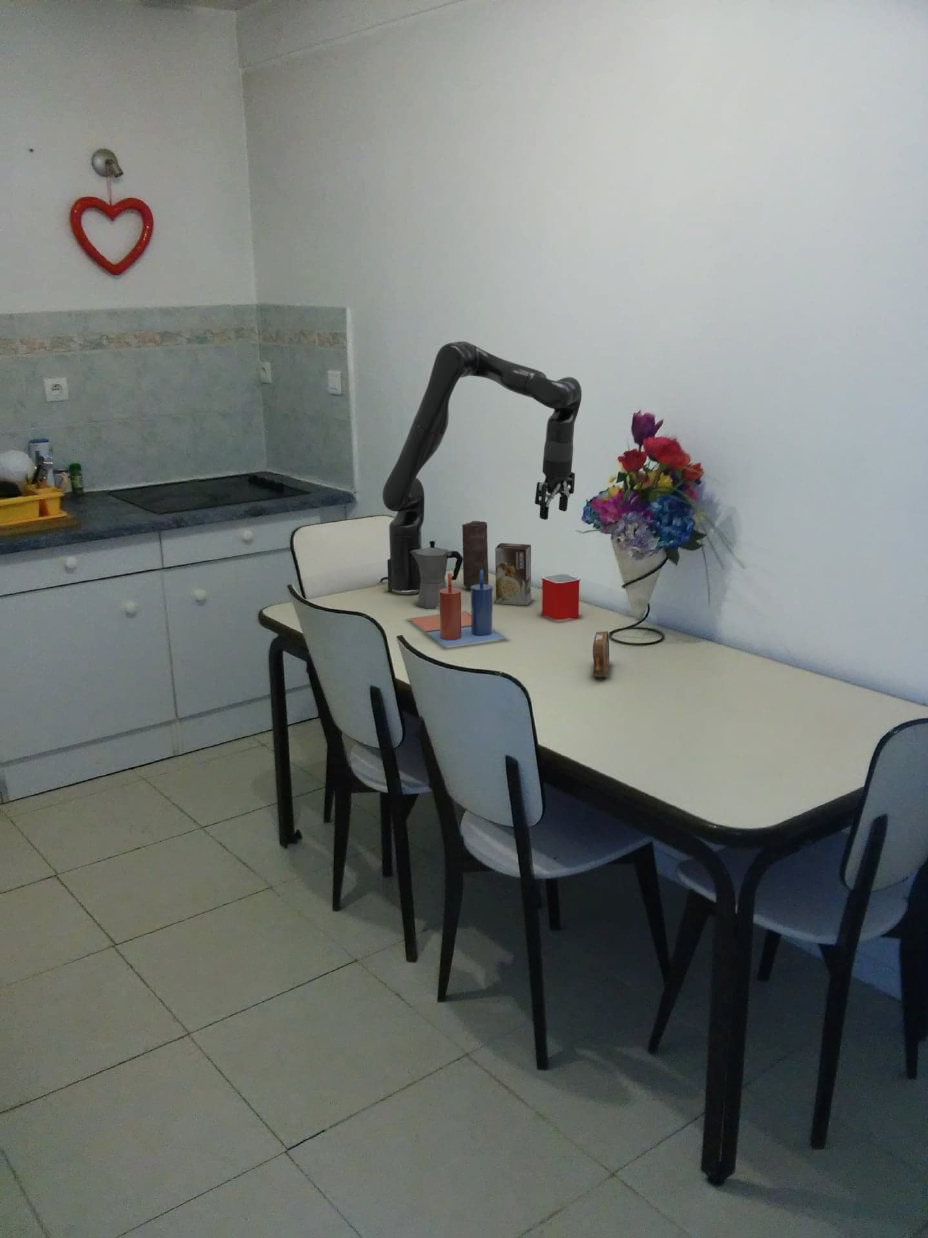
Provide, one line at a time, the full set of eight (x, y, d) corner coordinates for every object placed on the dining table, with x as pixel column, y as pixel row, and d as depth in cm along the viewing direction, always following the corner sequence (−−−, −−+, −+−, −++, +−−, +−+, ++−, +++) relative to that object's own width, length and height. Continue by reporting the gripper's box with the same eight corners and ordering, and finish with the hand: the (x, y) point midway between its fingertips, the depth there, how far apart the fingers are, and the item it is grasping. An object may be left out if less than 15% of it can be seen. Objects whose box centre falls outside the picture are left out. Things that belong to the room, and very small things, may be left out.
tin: (605, 683, 235) (606, 646, 233) (590, 682, 236) (591, 646, 234) (609, 661, 250) (611, 626, 247) (596, 660, 250) (597, 625, 248)
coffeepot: (404, 606, 295) (403, 542, 289) (417, 597, 303) (416, 535, 298) (457, 611, 290) (456, 546, 284) (468, 602, 298) (468, 539, 293)
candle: (470, 593, 307) (469, 525, 301) (458, 587, 313) (457, 520, 307) (493, 590, 310) (493, 522, 305) (480, 584, 317) (480, 518, 311)
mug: (582, 617, 283) (583, 579, 280) (557, 622, 279) (557, 583, 276) (555, 607, 293) (555, 569, 290) (530, 612, 288) (530, 573, 285)
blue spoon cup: (467, 634, 268) (467, 571, 263) (475, 628, 273) (475, 566, 268) (487, 637, 266) (487, 573, 261) (495, 630, 271) (495, 568, 266)
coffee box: (532, 599, 300) (532, 544, 295) (526, 606, 294) (527, 549, 289) (500, 597, 302) (500, 542, 298) (494, 603, 297) (494, 547, 292)
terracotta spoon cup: (436, 639, 265) (435, 574, 260) (445, 632, 270) (444, 569, 265) (456, 641, 263) (455, 576, 258) (464, 635, 268) (464, 571, 263)
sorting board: (445, 649, 259) (445, 646, 259) (409, 620, 282) (408, 617, 282) (505, 640, 265) (505, 637, 265) (464, 613, 288) (464, 610, 288)
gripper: (562, 446, 282) (557, 504, 289) (529, 458, 272) (525, 517, 280) (585, 453, 278) (580, 511, 285) (553, 465, 268) (548, 525, 275)
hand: (553, 514), depth 282 cm, fingers open, 8 cm apart
